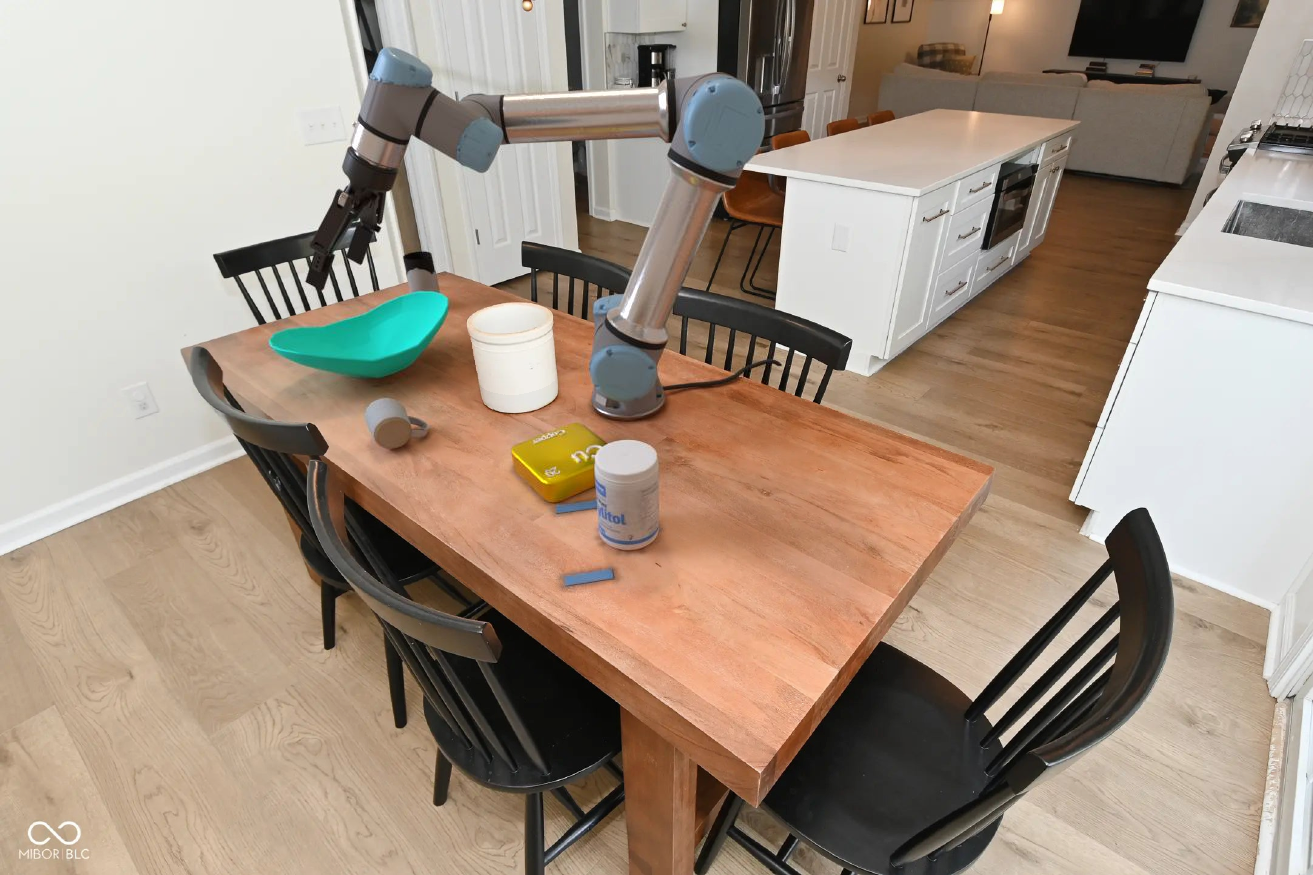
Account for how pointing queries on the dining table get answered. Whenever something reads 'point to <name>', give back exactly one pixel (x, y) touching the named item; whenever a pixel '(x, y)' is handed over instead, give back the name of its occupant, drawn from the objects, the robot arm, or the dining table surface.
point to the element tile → (559, 461)
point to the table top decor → (368, 338)
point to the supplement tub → (627, 494)
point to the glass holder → (421, 272)
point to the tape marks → (590, 575)
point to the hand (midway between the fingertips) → (335, 272)
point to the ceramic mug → (392, 423)
